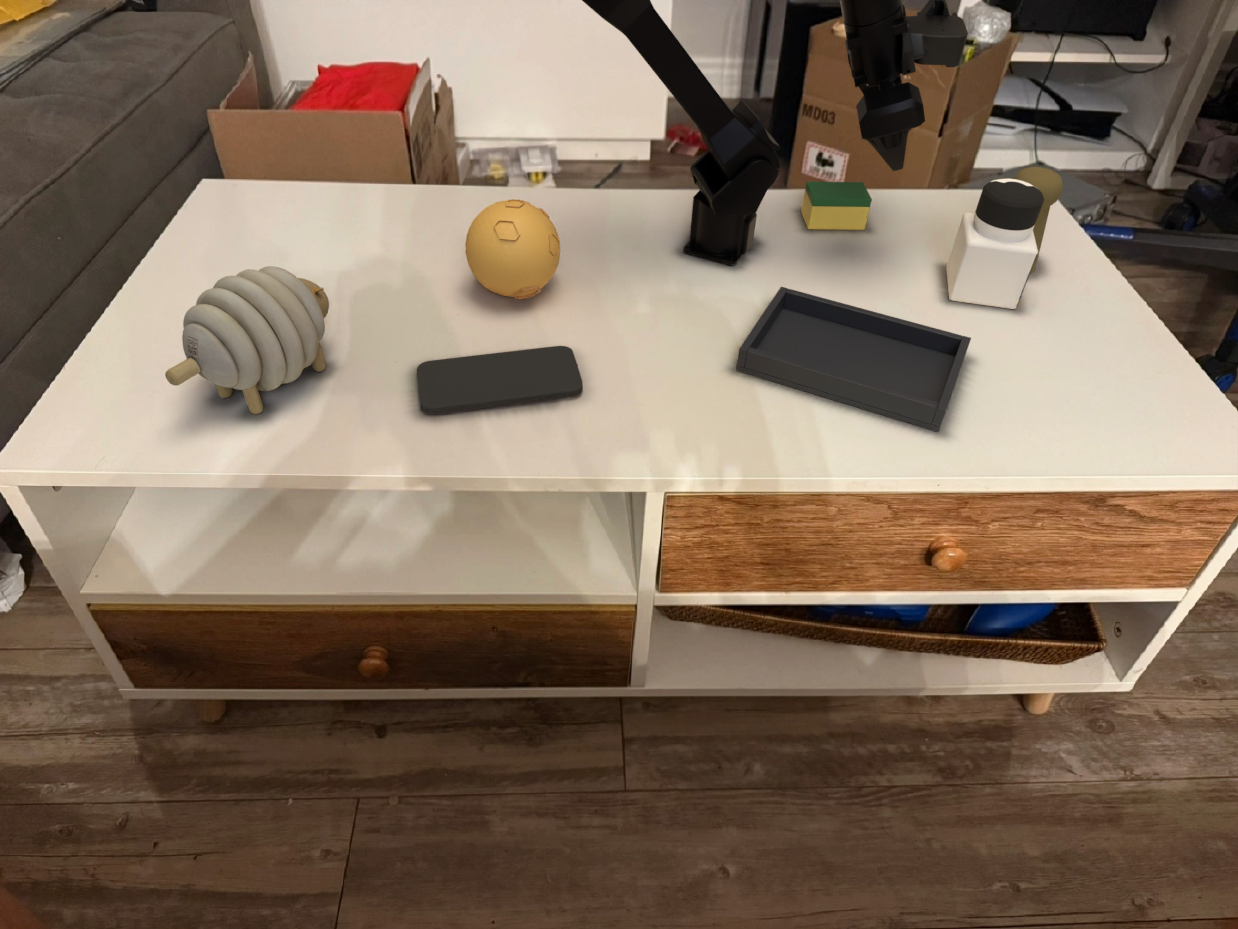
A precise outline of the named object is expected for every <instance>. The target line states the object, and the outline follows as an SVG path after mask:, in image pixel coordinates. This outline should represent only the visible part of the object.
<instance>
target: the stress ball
mask: <svg viewBox="0 0 1238 929" xmlns="http://www.w3.org/2000/svg"><path fill="white" fill-rule="evenodd" d="M464 246H465V257H466V261H467V264H468V267H469V269H470V271H471V273H472V274H473V276H474V277H475V279H476V280H477V281H478V282H479V283H480V284H481V285H482V286H483V287H484V288H486V289H487V290H489V291H490V292H492V293H495V294H497V295H500V296H503V297H507V298H508V297H509V298H514V299H515V300H524V299H528V298H532V297H533V296H536V295H537V294H539V293H540V292H541V289H542V288H543V287H544V286H546V285H547V284H548V283H549V282H550V281H551V279H552V278H553V277H554V275H555V273H556V271H557V268H558V266H559V263H560V258H561V240H560V237H559V232H558V230H557V229H556V227H555V224H554V222H553V221H552V220H551V219H550V215H549V214H548V213H547V212H546V211H545V210H544V209H543V208H541V207H540V208H539V207H537V206H535V205H534V204H531V203H530V202H528V201H526V200H523V199H514V198H513V199H506V200H501V201H497V202H495V203H492V204H489V205H488V206H486V207H485V208H484V209H482V210H481V211H480V212H479V213H478V214H477V215H476V216H475V217H474V219H473V220H472V222H471V224H470V225H469V227H468V231H467V233H466V237H465V245H464Z"/></svg>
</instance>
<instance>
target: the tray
mask: <svg viewBox="0 0 1238 929" xmlns="http://www.w3.org/2000/svg"><path fill="white" fill-rule="evenodd" d="M971 339H972V337H969V336H965V335H962V334H958V333H955V332H951V331H947V330H943V329H940V328H936V327H932V326H929V325H925V324H921V323H917V322H913V321H910V320H907V319H903V318H899V317H895V316H891V315H888V314H884V313H881V312H876V311H873V310H869V309H866V308H862V307H857V306H855V305H851V304H848V303H844V302H840V301H836V300H832V299H829V298H824V297H821V296H818V295H814V294H810V293H806V292H802V291H799V290H795V289H792V288H788V287H785V286H780V287H779V289H778V290H777V292H775V295H774V297H772V298H771V301H770V302H769V304H768V305H767V307H766V308H765V310H764V311H763V312H762V314H761V316H760V317H759V319H758V320H757V322H756V323H755V325H754V326H753V327H752V328H751V330H750V332H749V334H748V335H747V337H746V338H745V340H744V341H743V343H741V345H740V346H739V348H738V355H737V360H736V366H735V367H736V369H735V370H736V371H737V372H740V373H744V374H747V375H750V376H753V377H756V378H760V379H763V380H766V381H770V382H773V383H776V384H780V385H783V386H787V387H789V388H793V389H796V390H800V391H803V392H805V393H809V394H812V395H815V396H820V397H822V398H825V399H828V400H832V401H835V402H839V403H841V404H845V405H849V406H851V407H855V408H858V409H862V410H865V411H868V412H872V413H875V414H878V415H882V416H883V417H887V418H890V419H891V418H892V419H894V420H897V421H901V422H904V423H908V424H910V425H914V426H918V427H921V428H923V429H926V430H930V431H934V432H937V433H939V431H940V429H941V426H942V424H943V421H944V418H945V415H946V413H947V409H948V406H949V404H950V400H951V398H952V396H953V393H954V389H955V386H956V383H957V381H958V377H959V375H960V372H961V369H962V367H963V363H964V360H965V357H966V354H967V351H968V348H969V345H970V342H971V341H972V340H971Z"/></svg>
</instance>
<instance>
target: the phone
mask: <svg viewBox="0 0 1238 929" xmlns="http://www.w3.org/2000/svg"><path fill="white" fill-rule="evenodd" d="M416 374H417V375H416V376H417V386H418V397H419V404H420V409H421V410H422V412H423V413H425V414H428V415H437V414H445V413H455V412H461V411H469V410H478V409H485V408H492V407H494V408H495V407H501V406H509V405H518V404H524V403H525V404H526V403H534V402H540V401H542V402H543V401H548V400H549V401H550V400H556V399H557V400H558V399H565V398H573V397H577V396H579V395H580V394H582V392H583V388H584V387H583V385H584V384H583V379H582V375H581V372H580V370H579V365H578V363H577V360H576V356H575V354H574V351H573V349H572V348H571V347H570V346H566V345H553V346H545V347H535V348H527V349H519V350H511V351H510V350H509V351H502V352H501V351H500V352H493V353H485V354H476V355H467V356H459V357H458V356H457V357H449V358H442V359H434V360H427V361H423V362H421V363H420V364H418V366H417V367H416Z"/></svg>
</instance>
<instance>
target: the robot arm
mask: <svg viewBox="0 0 1238 929" xmlns="http://www.w3.org/2000/svg"><path fill="white" fill-rule="evenodd" d="M581 1H582V2H583V3H584V4H585V5H586V6H588V8H590V9H591V10H592V11H594V12H595V13H596V14H597V15H598V16H599V17H600V18H602V19H603V20H604V21H605V22H607V23H608V24H610V25H611V26H612V27H614V28H615V29H616V30H618V31H619V32H620V33H622V34H623V35H624V36H625V37H626V38H627V40H628V41H629V42H630V44H631V45H632V46H633V47H634V48H635V50H636V51H637V52H638V54H639V55H640V56H641V58H642V59H643V61H645V63H647V65H648V66H649V67H650V68H651V70H652V71H653V72H654V74H655V75H656V76H657V77H658V79H659V80H660V82H662V84H663V85H664V86H665V88H666V89H667V90H668V91H669V93H670V94H671V95H672V97H673V98H674V99H675V100H676V101H677V103H678V104H679V105H680V107H681V108H682V109H683V110H684V111H685V112H686V114H687V116H688V117H689V118H690V119H691V120H692V122H693V123H694V124H695V125H696V127H697V129H698V132H699V133H700V135H701V138H702V141H703V142H704V145H705V146H706V149H707V150H706V151H705V152H704V153H703V154H702V155H701V156H700V157H699V158H698V159H696V161H695V162H694V163H692V165H690V167H689V170H690V173H691V177H692V181H693V183H694V185H695V186H696V187H697V188H698V191H697V193H696V194H695V195H693V198H692V207H691V219H690V230H689V240H688V242H687V243H686V244H685V245H684V246H683V250H682V251H683V253H684V254H689V255H692V256H696V257H699V258H704V259H707V260H710V261H715V262H719V263H722V264H726V265H729V266H735V265H737V263H739V261H740V260H741V259H742V257H743V256H745V255H746V254H747V253H748V252H749V250H750V249H751V248H752V247H753V245H754V239H755V232H756V224H757V217H758V216H757V215H758V214H757V212H758V209H759V207H760V206H761V204H762V201H763V200H764V198H765V195H766V194H767V191H768V190H769V189H770V188H771V186H773V185H774V183H775V182H776V181H777V179H778V176H779V174H780V169H781V168H782V163H781V159H780V157H779V155H778V153H777V152H776V151H779V150H781V147H782V146H780V145H779V143H778V142H777V141H776V140H775V138H774V137H773V136H772V135H771V134H770V133H769V131H767V129H766V128H765V126H764V125H763V124H764V123H763V122H762V120H761V119H760V118H759V117H758V115H756V113H755V112H754V110H752V109H751V108H750V106H749V105H748V103H746V101H745V100H744V99H743V98H742V99H740V100H739V101H738V103H737V104H736V105H735V106H734V107H732V106H730V105H729V104H728V103H727V102H725V101H724V99H723V98H722V97H721V95H720V94H719V93H718V92H717V90H716V89H715V87H713V85H712V83H710V81H709V80H708V79H707V77H706V75H705V74H704V73H703V72H702V70H701V69H700V68H699V66H698V65H697V63H696V62H695V61H694V60H693V58H692V57H691V56H690V54H689V53H688V51H687V50H686V49H685V48H684V46H683V45H682V44H681V42H680V40H679V39H678V38H677V37H676V36H675V34H674V32H672V30H671V29H670V27H669V26H668V25H667V24H666V22H665V21H664V19H663V18H662V17H661V15H660V14H659V13H658V12H657V10H656V8H655V7H654V5H653V3H652V1H651V0H581ZM902 1H903V0H839V3H840V9H841V15H842V21H843V26H844V32H845V37H846V39H845V41H844V43H845V48H846V54H847V59H848V64H849V68H850V73H851V77H852V79H853V81H854V88H859V90H860V91H861V93H862V94H863V96H862V97H860V100H859V101H858V103H857V104H856V105H855V107H856V108H855V109H856V113H857V119H858V124H859V131H860V136H861V139H862V140H864V141H867V142H868V143H869V144H870V146H871V147H873V149H874V150H875V151H876V152H877V153H878V155H879V157H881V158H882V159H883V161H884V162H885V164H886V165H887V166H888V167H889V168H890V169H891V171H892V172H897V171H900V170H903V169H904V165H905V157H906V150H907V143H908V138H909V137H908V136H909V133H910V131H911V130H912V129H915V128H917V127H920V126H921V125H923V124H924V123H925V122H926V116H925V107H924V103H923V98H922V94H921V91H920V88H919V87H918V86H917V85H915V84H913V83H911V82H909V81H907V82H903V79H902V76H907V75H911V74H913V73H916V64H917V65H922V66H923V65H924V66H945V67H946V68H957V67H958V66H959V65H960V63H961V59H962V56H963V52H964V49H965V46H966V42H967V39H968V35H969V33H968V30H967V29H968V28H967V27H966V24H965V21H964V18H962V17H961V16H958V13H957V12H952V13H951V15H950V12H949V7H948V4H947V0H928V1H927V2H926V4H925V5H924V6H923V8H922V9H921V11H917V13H916V15H907V13H906V7H905V4H903V2H902Z"/></svg>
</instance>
